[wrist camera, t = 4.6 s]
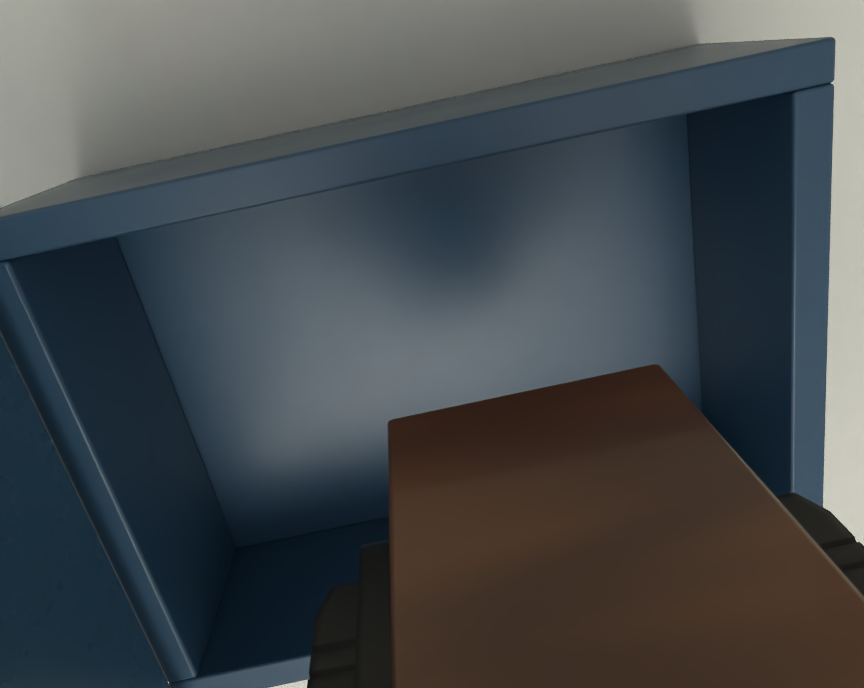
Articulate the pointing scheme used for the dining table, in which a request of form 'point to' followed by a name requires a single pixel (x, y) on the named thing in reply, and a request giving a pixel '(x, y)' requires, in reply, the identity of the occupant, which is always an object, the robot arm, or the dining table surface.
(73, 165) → the dining table surface
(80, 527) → the toolbox lid
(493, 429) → the brown block
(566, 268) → the toolbox
